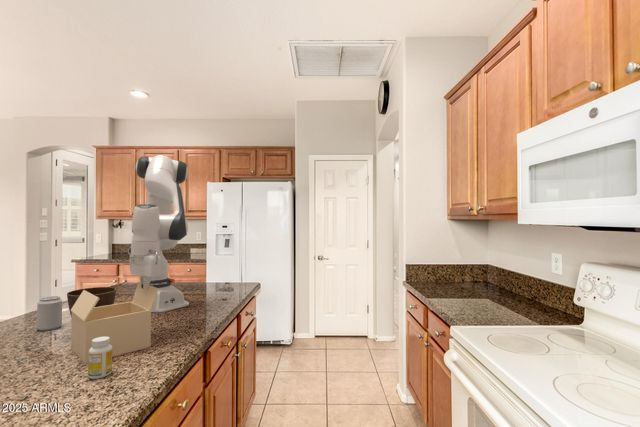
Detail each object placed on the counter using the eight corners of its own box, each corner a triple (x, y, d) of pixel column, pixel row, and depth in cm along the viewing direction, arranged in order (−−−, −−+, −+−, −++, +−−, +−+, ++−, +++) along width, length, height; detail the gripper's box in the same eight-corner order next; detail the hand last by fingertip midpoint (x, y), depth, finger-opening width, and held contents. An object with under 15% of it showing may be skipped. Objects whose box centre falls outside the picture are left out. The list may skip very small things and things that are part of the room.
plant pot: (125, 330, 126) (125, 288, 126) (88, 344, 112) (89, 296, 112) (94, 327, 130) (95, 286, 130) (55, 340, 116) (56, 293, 116)
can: (47, 332, 124) (48, 299, 124) (31, 330, 125) (32, 299, 126) (66, 326, 131) (67, 295, 132) (51, 324, 133) (51, 294, 133)
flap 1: (85, 321, 97) (83, 320, 96) (72, 310, 108) (70, 310, 108) (99, 298, 99) (98, 297, 99) (85, 290, 111) (83, 289, 111)
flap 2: (132, 301, 121) (133, 301, 122) (150, 309, 110) (151, 309, 110) (138, 281, 123) (139, 282, 123) (157, 288, 112) (158, 288, 112)
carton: (131, 334, 121) (131, 301, 122) (150, 346, 109) (151, 310, 110) (70, 348, 108) (71, 311, 109) (85, 364, 96) (85, 322, 96)
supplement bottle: (91, 381, 86) (92, 344, 86) (85, 375, 89) (85, 339, 89) (114, 374, 90) (115, 338, 90) (107, 368, 93) (108, 334, 93)
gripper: (167, 250, 112) (166, 291, 112) (144, 248, 126) (143, 284, 126) (147, 251, 108) (146, 294, 107) (126, 248, 122) (125, 286, 121)
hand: (144, 289), depth 117 cm, fingers closed, pressing on flap 2
